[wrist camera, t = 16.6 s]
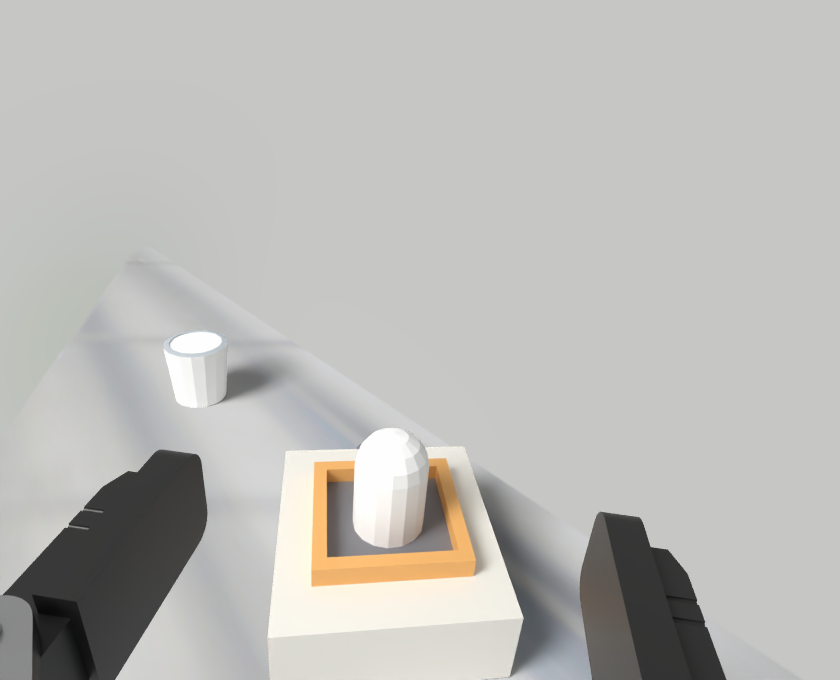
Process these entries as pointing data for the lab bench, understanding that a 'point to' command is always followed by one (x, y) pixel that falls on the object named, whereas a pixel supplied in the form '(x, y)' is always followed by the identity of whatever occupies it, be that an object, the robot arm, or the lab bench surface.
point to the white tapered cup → (197, 367)
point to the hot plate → (388, 582)
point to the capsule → (390, 488)
